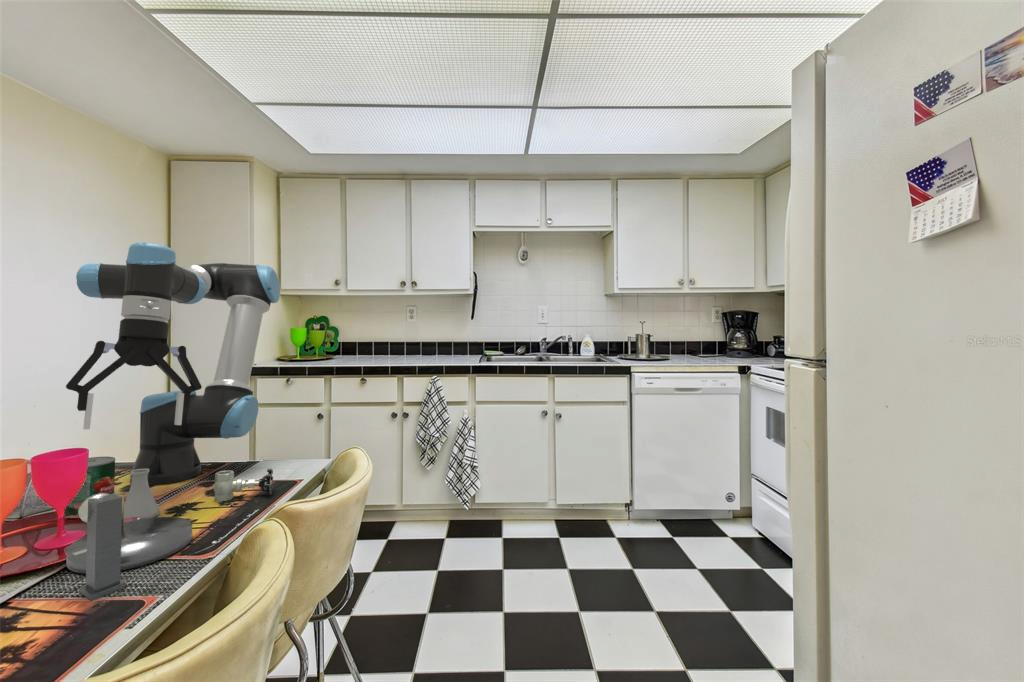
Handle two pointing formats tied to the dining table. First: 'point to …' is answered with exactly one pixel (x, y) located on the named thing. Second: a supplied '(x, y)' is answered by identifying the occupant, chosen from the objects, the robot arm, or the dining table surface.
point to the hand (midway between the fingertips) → (134, 426)
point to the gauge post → (102, 544)
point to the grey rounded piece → (139, 541)
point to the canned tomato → (94, 482)
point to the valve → (238, 484)
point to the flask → (140, 497)
